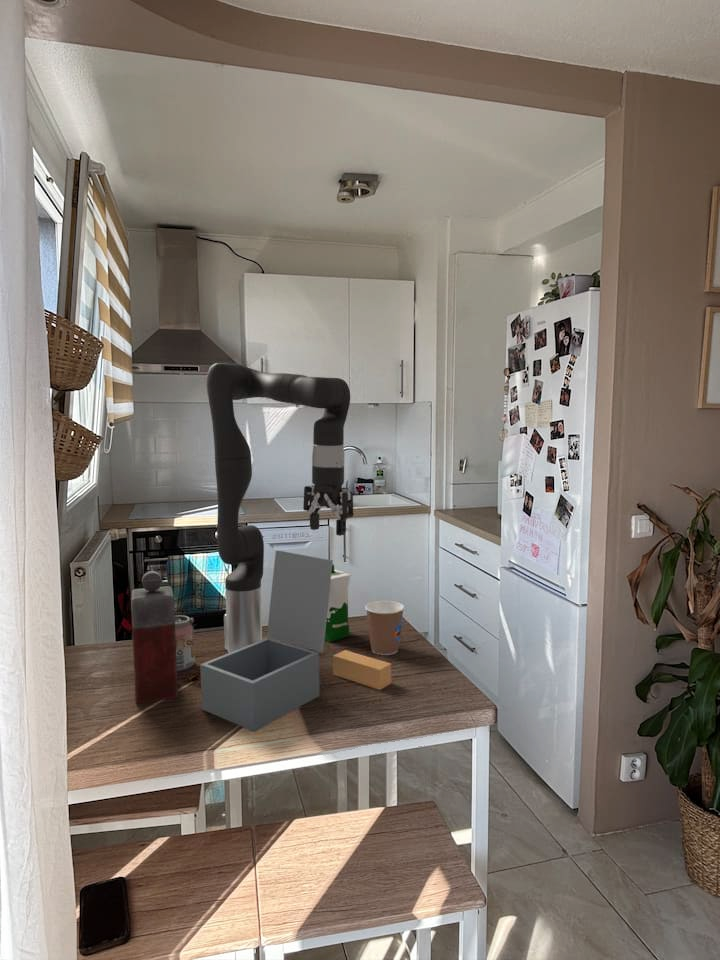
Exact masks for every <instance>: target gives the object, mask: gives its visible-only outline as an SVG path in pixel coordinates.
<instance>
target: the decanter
mask: <svg viewBox="0 0 720 960" xmlns="http://www.w3.org/2000/svg"><path fill="white" fill-rule="evenodd" d="M162 582H163V580H162V576H161V574H160V573H159V572H158V571H156V570H149V571H146V572H145V573H144V574H143V575H142V579H141V585H142V588H134V589H132V590H131V599H130V600H131V602H130V606H131V607H130V609H131V610H130V611H131V630H132V650H133V654H132V655H133V671H134V674H133V675H134V677H133V678H134V692H135V694H134V695H135V704H140V703H141V704H142V703H147V702H156V701H162V700H170V699H177V698H178V697H179V694H178V690H179V689H178V688H179V687H178V671H177V661H176V635H175V616H176V611H175V609H176V608H175V596H174V591H173V588H172V586H170V585H166V586H162V584H163V583H162Z"/></svg>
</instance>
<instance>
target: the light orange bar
mask: <svg viewBox="0 0 720 960" xmlns="http://www.w3.org/2000/svg"><path fill="white" fill-rule="evenodd" d="M332 675H334V676H336V677H339V678H342V679H345V680H349V681H352V682H354V683H358V684H361V685H364V686H367V687H370V688H373V689H375V690H379V691H381V690H383V689H385V688H386V687H387V686H389V685H391V684H392V663H390V662H387V661H383V660H380V659H377V658H374V657H369V656H366V655H363V654H359V653H356V652H352V651H350V650H347V649H344V650H343V651H340V652H338V653H336V654H333V655H332Z"/></svg>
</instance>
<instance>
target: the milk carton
mask: <svg viewBox="0 0 720 960" xmlns="http://www.w3.org/2000/svg"><path fill="white" fill-rule="evenodd" d="M351 576H352V575H351V574H349V573H346V572H345V571H341V570H339V569H335V564H333V563H332V572H331V582H330V592H329V602H328V611H327V621H326V631H325V641H327V642H329V643H331V642H335V640H336V641H338V639H339V640H342V639H341V638H343V639H345V638H344V637H346V638H348V637H347V636H350V637H351V635H350V633H351V632H350V625H349V585H350V580H351Z"/></svg>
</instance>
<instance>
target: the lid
mask: <svg viewBox="0 0 720 960" xmlns="http://www.w3.org/2000/svg"><path fill="white" fill-rule="evenodd" d="M274 555H275V556H274V566H273V574H272V583H271V595H270V601H269V602H270V603H269V613H268V623H267V631H266V637H267V638H271V639H274V640H277V641H281V642H284V643H287V644H291V645H294V646H298V647H301V648H304V649H308V650H311V651H314V652H318V653H319V652H320V653H322V652H324V650H325V649H324V648H325V641H326V640H325V631H326V621H327V611H328V602H329V592H330V582H331V572H332V564H333V561H334V560H332V559H327V558H321V557H315V556H309V555H305V554H299V553H293V552H289V551H288V552H287V551H283V550H275V554H274Z"/></svg>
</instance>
